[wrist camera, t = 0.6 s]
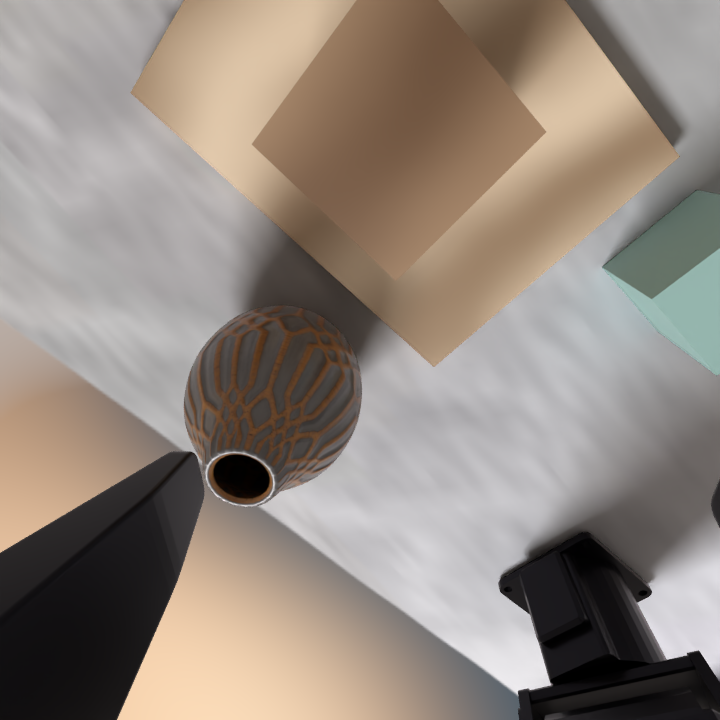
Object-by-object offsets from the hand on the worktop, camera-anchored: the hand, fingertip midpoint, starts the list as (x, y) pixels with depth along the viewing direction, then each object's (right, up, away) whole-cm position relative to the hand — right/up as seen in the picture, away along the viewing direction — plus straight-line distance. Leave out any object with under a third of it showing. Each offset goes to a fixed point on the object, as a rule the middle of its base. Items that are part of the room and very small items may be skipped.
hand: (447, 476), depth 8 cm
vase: (-5, +2, +14) cm, 15 cm away
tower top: (0, +9, +6) cm, 11 cm away
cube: (+12, +6, +11) cm, 17 cm away
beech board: (0, +11, +9) cm, 14 cm away
